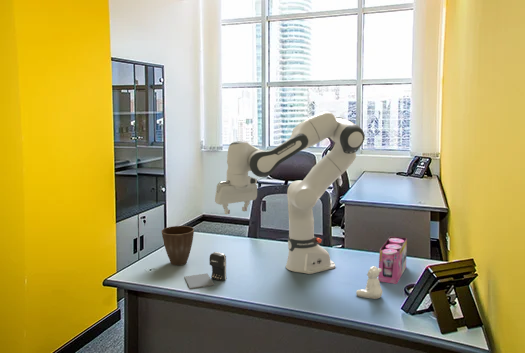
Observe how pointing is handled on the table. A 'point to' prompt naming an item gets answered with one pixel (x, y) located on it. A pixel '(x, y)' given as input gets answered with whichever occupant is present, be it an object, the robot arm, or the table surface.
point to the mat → (199, 281)
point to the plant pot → (178, 243)
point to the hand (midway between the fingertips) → (236, 212)
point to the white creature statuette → (371, 285)
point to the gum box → (392, 259)
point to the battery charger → (218, 266)
